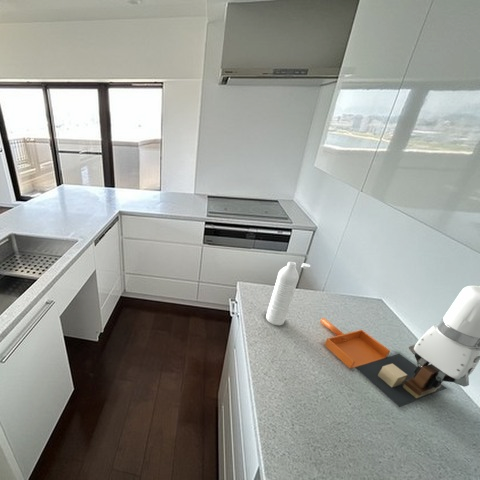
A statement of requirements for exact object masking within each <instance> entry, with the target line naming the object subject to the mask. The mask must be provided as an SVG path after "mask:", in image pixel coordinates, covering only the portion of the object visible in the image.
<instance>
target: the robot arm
mask: <svg viewBox="0 0 480 480" xmlns="http://www.w3.org/2000/svg"><path fill="white" fill-rule="evenodd" d="M408 350H410V352H411V354H413V355H414V357H415V360H416V362H417V363H416V366H417V368H416V370H415V371H414V373H415V375H414V378H415V377H416V375H417V374H418V372H419V371H420V369H421V368H422V367H424V366H427V365H430V364H432V365H434V366H435V367H437V368H438V369H440V371H439V373H438V374H437V375H436V376H434V377H432V378H431V379H430V381H429V382H428V383H427V385H426V387H427V388H428V389H429V388H432V387H434V388H437V387H439V385H440V384H443V382H449V383H453V384H456V385H458V386H461V387H467V386H469V385H470V379H469V377H470V375H471V374H472V373H473V372H474V370H475V369H476V367H477V366H478V364H479V363H480V285H467V286H465V287H463V288H462V289H461V291H459V292H458V295H457V296H456V297H455V299H454V300H453V302H452V304H451V305H450V306H449V308H448V309H447V311H446V313H445V314H444V316H442V319H441V320H440V321H439V323H436V324H434V325H432V326H431V327H430V328H429V329H428V330H427V331H426V332H425V333H424V334H423V335H422V336H421V337H419V339H418V340H417V342H416V343H415V344H412V345H410V346H408Z"/></svg>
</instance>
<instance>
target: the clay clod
mask: <svg viewBox="0 0 480 480" xmlns="http://www.w3.org/2000/svg"><path fill="white" fill-rule="evenodd" d="M378 376H379V377H380V378H381V379H382V380H383V381H385V382H386V383H387V384H388V385H389V386H391V387H395V386H398V385H400V384H402V382H403V381H404V379H405V378H406V376H407V374H406V373H404V372H403V371H402V370H400V369H399V368H398V367H397V366H395V365H394V364H393V363H392V364H389V365H386V366H383V367H382V369H381V371H380V372H379V374H378Z"/></svg>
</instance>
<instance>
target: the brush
mask: <svg viewBox="0 0 480 480" xmlns="http://www.w3.org/2000/svg"><path fill="white" fill-rule="evenodd" d="M439 371H440V369H438V368H437V367H435V366H434V365H432V364H431V363H429V365H427V366H424V367H422V368H421V369H420V371H419V372H418V374H417V375H416V377H415V378H411V379H408V380H406V381H405V382H404V386H403V388H404V389H406V390H407V391H408V392H409V393H411V394H412V395H413V396H414V397H415V398H419V397H422V396H424V395H427V394H429V393H432V392H435V391H436V390H437V389H438V388H440V386H441V384H442V383H441V384H440V385H439V387H437V388H434V387H432V388H429V389H428V388H427V387H426V385H427V383H428V382H429V381H430V379H431V378H432V377H434V376H436V375H437V374H438V373H439Z"/></svg>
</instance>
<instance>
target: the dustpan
mask: <svg viewBox="0 0 480 480" xmlns="http://www.w3.org/2000/svg"><path fill="white" fill-rule="evenodd" d="M320 323H321V324H322V325H323V326H324V327H326V328H327V329H328V330H329V331H331V332H332V333H333V334H334V335H335V336H331V337H327V338H326V340H325V343H324V346H325V347H326V349H328V350H329V351H330V352H331V353H332V354H333V355H334V356H335V357H337V358H338V359H339V360H340V361H341V362H342V363H343V364H345V366H346V367H347V368H349V369H354V368H355V367H357V366H361V365H364V364H367V363H370V362H374V361H377V360H380V359H383V358H387V357H388V355H389V354H390V352H391V350H390V349H389V348H387V347H386V346H384V345H383V344H382V343H380V342H379V341H378V340H377V339H375V338H373V337H372V336H371V335H370V334H368V333H367V332H366V331H364V330H363V329H358V330H354V331H351V332H347V333H344V332H342V331H341V330H340V329H338V328H337V327H336V326H335V325H334V324H332V323H331V322H330V321H328V320H327V319H326V318H325V317H323V318H320Z"/></svg>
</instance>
